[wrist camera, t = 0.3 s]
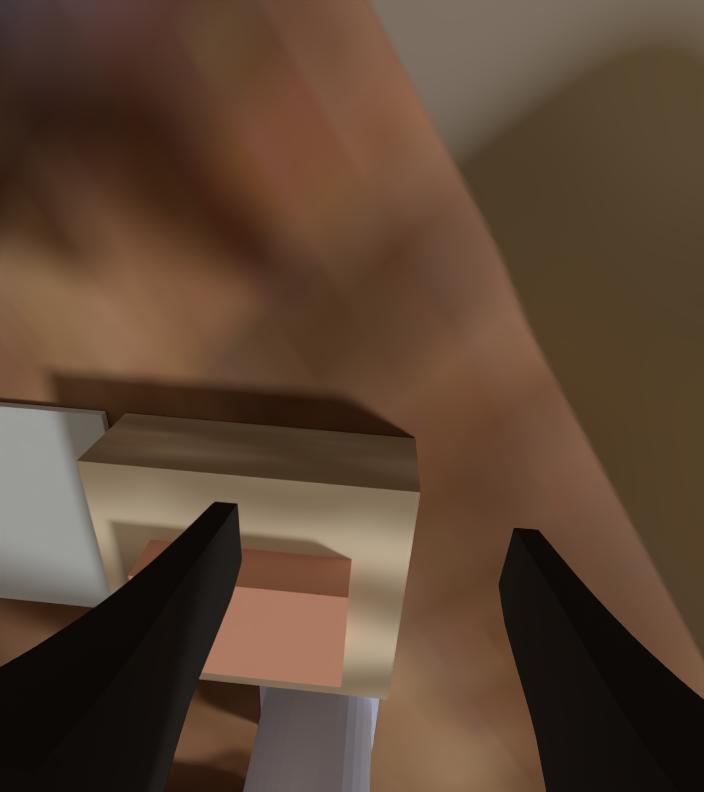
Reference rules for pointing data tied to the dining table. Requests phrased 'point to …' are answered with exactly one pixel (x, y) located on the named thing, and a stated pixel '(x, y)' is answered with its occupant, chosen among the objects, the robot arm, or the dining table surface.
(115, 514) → the board
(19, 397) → the dining table surface
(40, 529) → the mat
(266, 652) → the terracotta brown block
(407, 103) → the dining table surface
